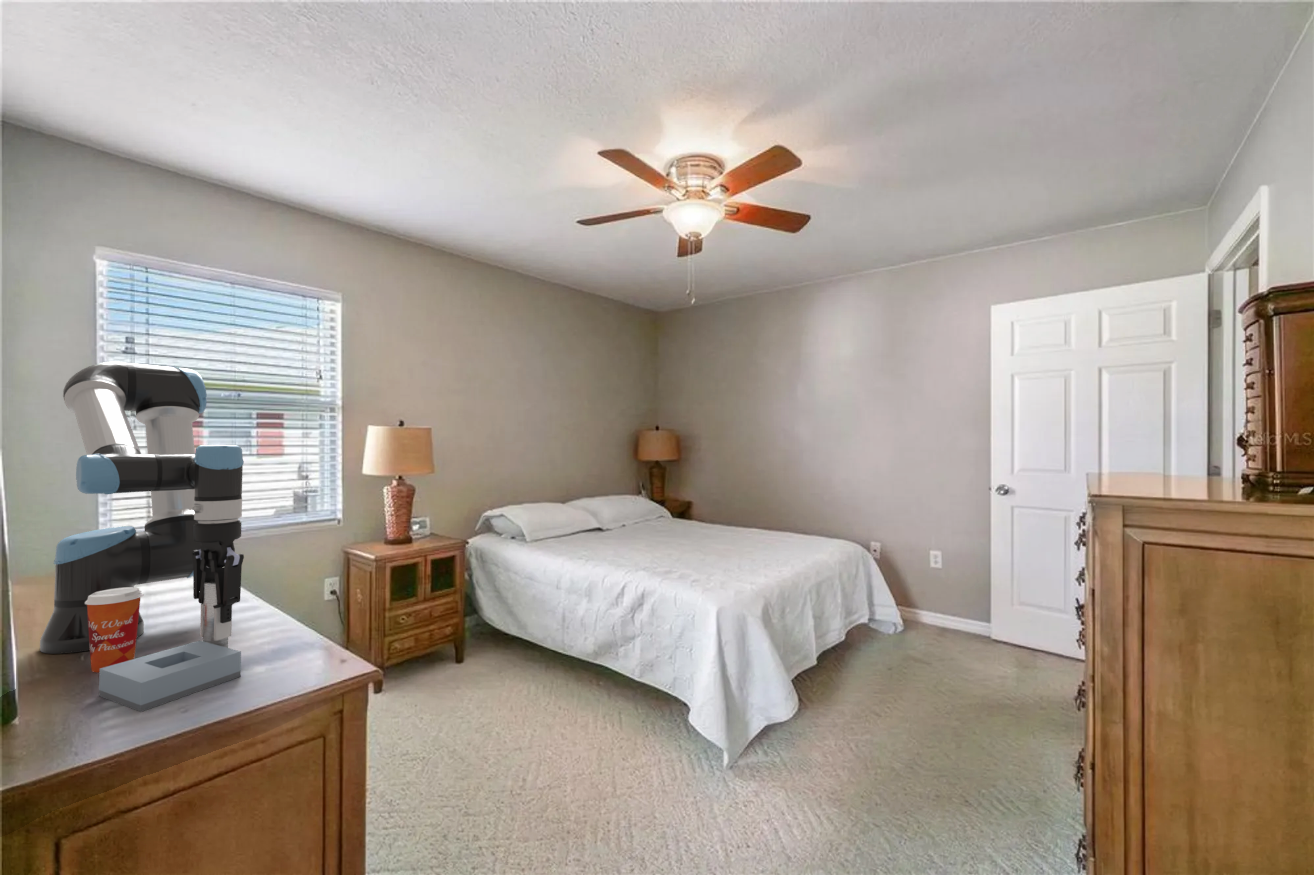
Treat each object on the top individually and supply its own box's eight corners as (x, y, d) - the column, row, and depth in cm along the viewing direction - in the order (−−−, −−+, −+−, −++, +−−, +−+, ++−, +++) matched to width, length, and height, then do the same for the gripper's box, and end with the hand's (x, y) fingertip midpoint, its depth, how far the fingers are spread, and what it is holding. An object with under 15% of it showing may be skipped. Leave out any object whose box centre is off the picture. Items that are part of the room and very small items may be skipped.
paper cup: (74, 678, 95) (76, 599, 95) (94, 662, 102) (96, 589, 102) (133, 670, 98) (134, 594, 99) (149, 655, 105) (150, 584, 105)
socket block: (98, 695, 88) (99, 668, 88) (199, 664, 101) (199, 640, 101) (140, 711, 83) (141, 682, 83) (240, 676, 96) (241, 651, 96)
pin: (198, 653, 106) (199, 583, 107) (221, 646, 110) (222, 578, 110) (209, 656, 105) (211, 585, 105) (232, 649, 108) (233, 580, 109)
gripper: (172, 520, 108) (169, 636, 107) (221, 525, 101) (219, 649, 101) (214, 516, 115) (212, 624, 114) (264, 520, 108) (262, 636, 108)
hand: (215, 636), depth 107 cm, fingers closed on pin, 4 cm apart
